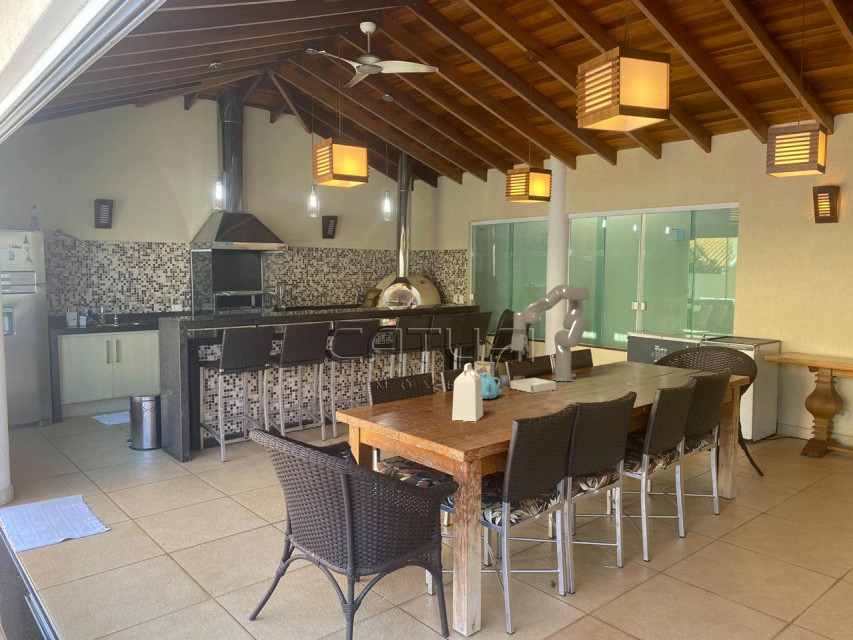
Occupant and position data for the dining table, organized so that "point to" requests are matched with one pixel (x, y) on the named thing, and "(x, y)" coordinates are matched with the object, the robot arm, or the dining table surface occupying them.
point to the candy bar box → (484, 368)
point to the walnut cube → (518, 377)
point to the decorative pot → (489, 386)
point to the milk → (467, 396)
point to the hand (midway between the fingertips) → (518, 360)
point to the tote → (533, 385)
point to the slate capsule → (504, 380)
